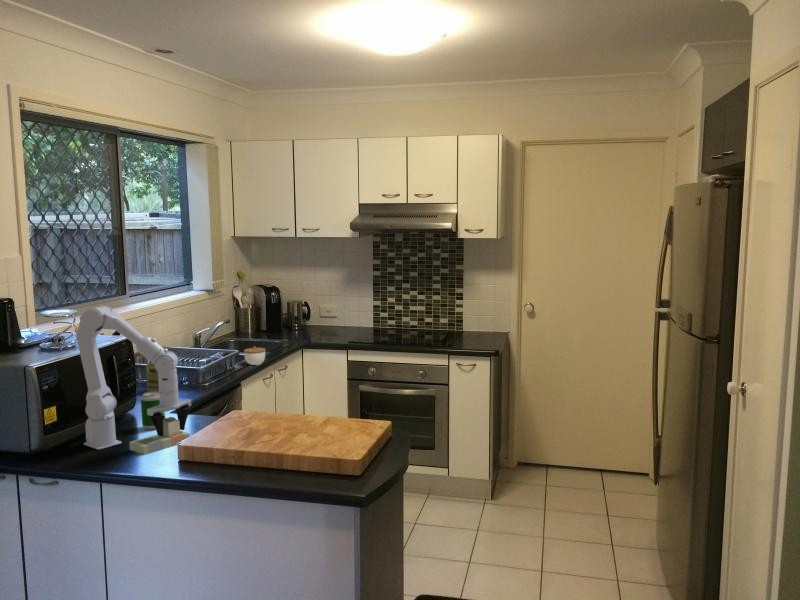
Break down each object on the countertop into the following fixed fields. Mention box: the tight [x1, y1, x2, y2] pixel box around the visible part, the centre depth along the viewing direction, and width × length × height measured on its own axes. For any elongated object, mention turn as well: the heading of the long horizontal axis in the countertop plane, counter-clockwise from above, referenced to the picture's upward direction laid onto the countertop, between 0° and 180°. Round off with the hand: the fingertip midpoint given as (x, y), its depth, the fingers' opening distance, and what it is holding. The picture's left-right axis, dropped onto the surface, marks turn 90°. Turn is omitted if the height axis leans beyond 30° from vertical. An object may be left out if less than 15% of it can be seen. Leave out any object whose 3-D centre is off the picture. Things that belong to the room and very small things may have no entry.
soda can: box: [140, 391, 166, 431], centre depth 230 cm, size 8×8×12 cm
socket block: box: [129, 430, 191, 455], centre depth 210 cm, size 8×16×3 cm, turn 141°
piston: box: [145, 362, 159, 393], centre depth 284 cm, size 11×12×11 cm
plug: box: [163, 416, 181, 438], centre depth 213 cm, size 4×4×8 cm
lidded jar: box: [243, 345, 266, 366], centre depth 339 cm, size 11×11×9 cm
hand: (171, 432), depth 213 cm, fingers open, 7 cm apart
